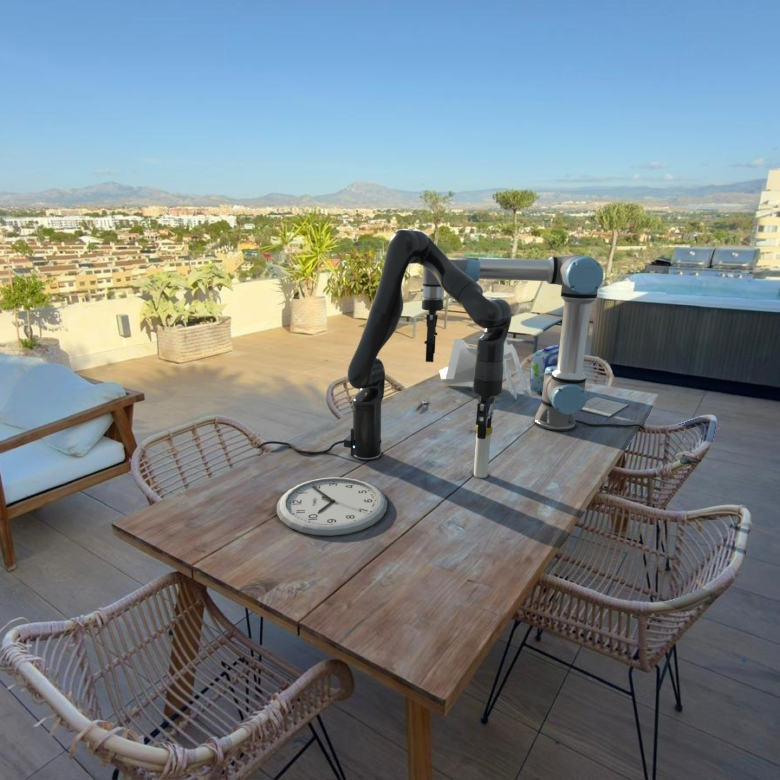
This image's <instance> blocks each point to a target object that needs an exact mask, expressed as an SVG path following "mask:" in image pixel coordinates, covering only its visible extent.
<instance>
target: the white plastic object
mask: <svg viewBox="0 0 780 780" xmlns="http://www.w3.org/2000/svg"><path fill="white" fill-rule="evenodd" d="M476 352H477V345H473V346H469V345H468V343H466V342H465V340H464V339H463V338H460V339H458V338H454V340H453V344H452V349H451V353H450V357H449V362H448V366H446V367H444V368H442V369H440V370H439V371H438V372H439V376H440V381H442V383H443V384H444V385H445V386H449V385H458V384H467V383H468V384H469V383H474V368H475V362H476ZM510 360H513V363H514V366H515V369H516V372H517V376H518V380H519V382H520V385H521V389H522V391H523V393H524V395H525V396H526V397H528V396H531V395H530V389H529V388H528V387H529V386H528V384H527V381H526V378H525V375H524V371H523V369H522V368H523V367H522V366H521V362H520V359H519V355H518V352H517V349H516V347H515V346H514V345H513V343H511V344H508V341H507V339H506V340H505V343H504V356H503V374H504V376H505V380H506V383H507V386H508V390H509V393H510V394H511V395H512V397H513V398H514V399H515V400H517V392H516V391H517V390H516V388H515V385H514V381H513V378H512V375H511V371H510V369H509V365H508V361H510Z"/></svg>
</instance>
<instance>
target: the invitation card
mask: <svg viewBox="0 0 780 780" xmlns="http://www.w3.org/2000/svg"><path fill="white" fill-rule="evenodd" d="M628 406H629V404H627V403H623V402H618V401H614V400H609V399H605V398H601V397H596V396H593V397H592V398H590V399H587V401H586V404H585V406H584V407H583V408H582V409H581V410H580V411H584V412H587V413H593V414H596V415H600V416H604V417H608V418H609V417H611V416H613V415H614V414H616V413H617V412H619V411H621V410H623V409H624V408H626V407H628Z"/></svg>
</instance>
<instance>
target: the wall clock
mask: <svg viewBox="0 0 780 780" xmlns="http://www.w3.org/2000/svg"><path fill="white" fill-rule="evenodd" d="M387 509H388V500H387V498H386V496H385V494H384V493H383V492H382V491H381V490H380V489H379V488H377V487H376V486H374V485H372V484H371V483H369V482H365V481H362V480H359V479H355V478H349V477H338V476H337V477H335V476H333V477H332V476H331V477H322V478H317V479H312V480H307V481H305V482H302V483H299V484H297V485H295V486H293V487H292V488H290V489H288V490H287V491H286V492H285V493H284V494H283V495H281V496H280V498H279V499H278V502H277V503H276V515H277V517H278V518H279V520H280V521H281V522H282V523H283V524H285V525H286V526H287V527H288V528H290V529H293V530H295V531H297V532H299V533H303V534H308V535H312V536H327V537H328V536H329V537H331V536H332V537H333V536H342V535H350V534H352V533H356V532H361V531H363V530H366V529H368V528H369V527H372V526H373V525H375V524H376V523H378V522H379V521H380V520H381V519H382V518H383V517H384V516H385V514H386V512H387Z"/></svg>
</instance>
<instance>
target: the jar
mask: <svg viewBox="0 0 780 780" xmlns="http://www.w3.org/2000/svg"><path fill="white" fill-rule="evenodd" d="M491 435H492V433H491V434H490V435H486V438H485V439H479V438H477V434H475V451H474V465H473V475H474V477H475V478H478V479H484V478H487V477H488V474H489V464H490V463H489V462H490V461H489V459H490V449H491V448H490V447H491V437H492V436H491Z"/></svg>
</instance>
